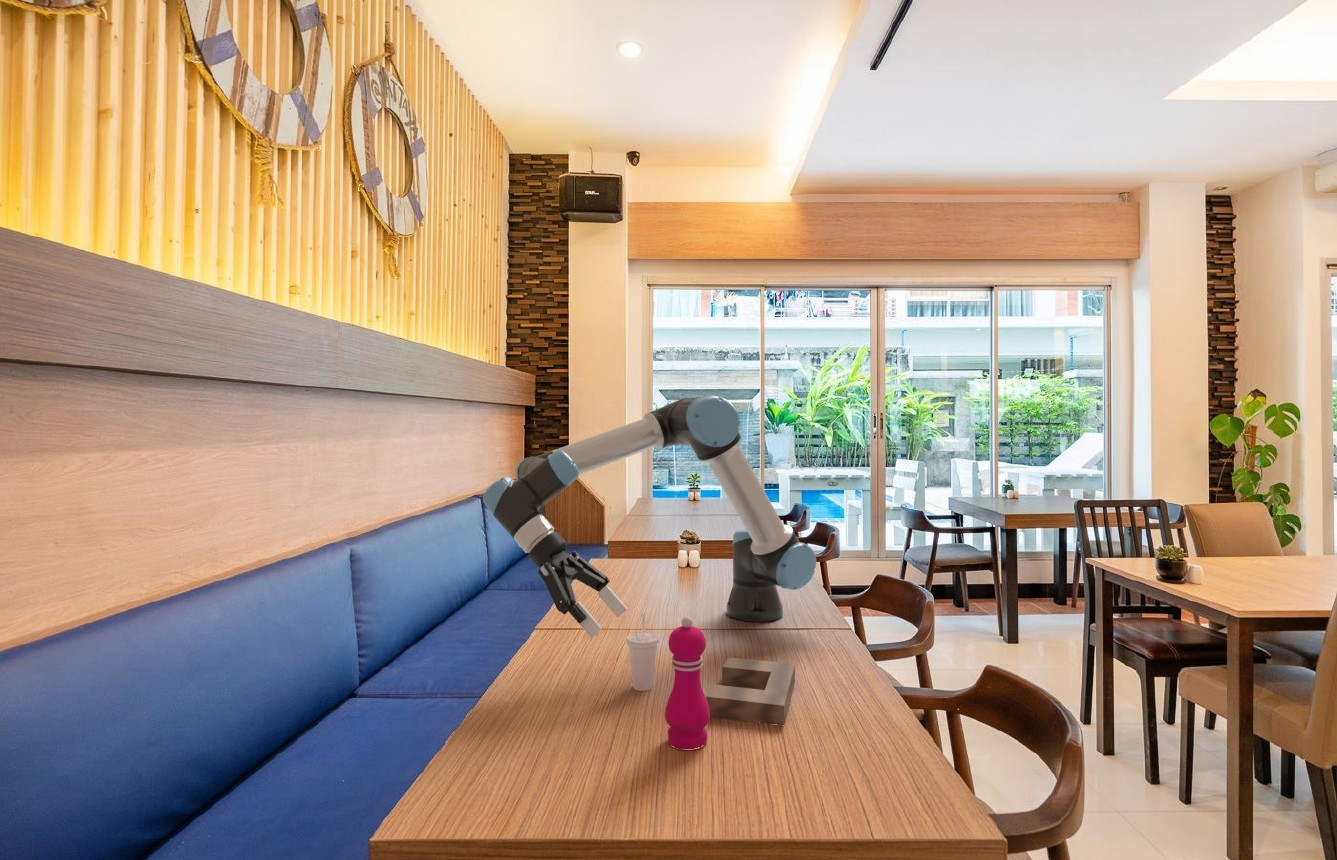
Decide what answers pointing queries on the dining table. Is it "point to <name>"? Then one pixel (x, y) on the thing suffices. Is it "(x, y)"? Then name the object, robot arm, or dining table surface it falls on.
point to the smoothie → (642, 657)
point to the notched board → (753, 691)
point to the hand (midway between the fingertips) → (610, 622)
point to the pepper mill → (687, 689)
